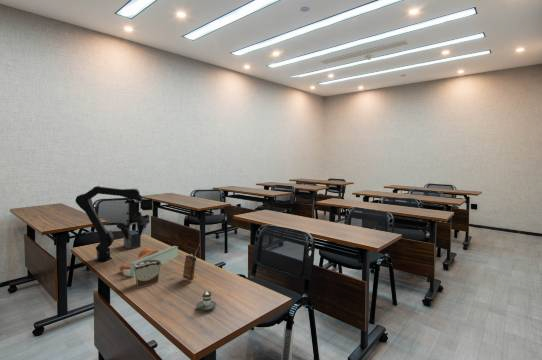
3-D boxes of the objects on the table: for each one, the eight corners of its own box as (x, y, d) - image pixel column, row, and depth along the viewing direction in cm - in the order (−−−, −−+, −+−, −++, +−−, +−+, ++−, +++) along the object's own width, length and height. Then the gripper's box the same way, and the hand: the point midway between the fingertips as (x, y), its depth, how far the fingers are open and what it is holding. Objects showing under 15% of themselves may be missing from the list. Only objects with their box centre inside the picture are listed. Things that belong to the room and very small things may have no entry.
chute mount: (123, 274, 142) (123, 261, 142) (168, 255, 172) (168, 244, 172) (134, 277, 140) (134, 263, 139) (177, 257, 170) (177, 246, 170)
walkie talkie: (205, 279, 140) (205, 243, 139) (181, 288, 130) (181, 248, 128) (189, 272, 148) (189, 237, 147) (165, 280, 138) (165, 243, 137)
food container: (155, 277, 140) (156, 257, 140) (161, 281, 136) (161, 260, 135) (129, 284, 132) (129, 263, 131) (134, 288, 127) (134, 266, 127)
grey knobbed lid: (194, 315, 107) (195, 302, 107) (189, 301, 118) (189, 289, 118) (225, 309, 113) (226, 296, 112) (217, 295, 123) (217, 284, 123)
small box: (141, 249, 184) (141, 232, 184) (131, 251, 179) (131, 234, 178) (133, 245, 191) (133, 230, 190) (123, 247, 186) (123, 231, 185)
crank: (150, 260, 164) (150, 246, 164) (160, 263, 161) (160, 249, 160) (118, 272, 146) (118, 256, 146) (128, 275, 143) (128, 259, 142)
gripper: (131, 214, 154) (131, 243, 155) (156, 209, 172) (156, 235, 173) (116, 212, 158) (116, 240, 159) (142, 208, 176) (142, 233, 177)
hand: (133, 237), depth 167 cm, fingers open, 9 cm apart
